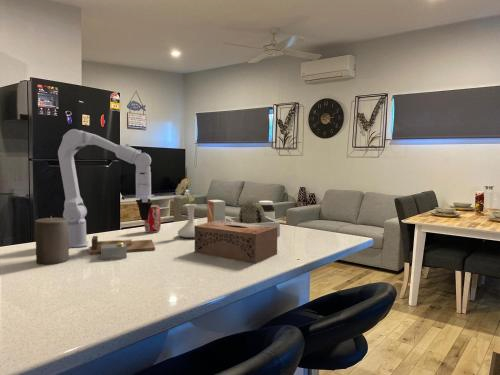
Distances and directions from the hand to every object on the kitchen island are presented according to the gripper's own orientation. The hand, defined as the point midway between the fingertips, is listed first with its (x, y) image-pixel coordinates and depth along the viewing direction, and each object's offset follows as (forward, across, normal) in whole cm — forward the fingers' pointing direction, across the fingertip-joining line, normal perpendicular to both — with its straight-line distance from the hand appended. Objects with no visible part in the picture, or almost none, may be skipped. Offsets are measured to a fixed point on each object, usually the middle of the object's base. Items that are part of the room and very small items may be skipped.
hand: (143, 218), depth 152 cm
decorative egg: (+10, +6, -47) cm, 49 cm away
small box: (+10, +24, -35) cm, 44 cm away
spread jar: (+10, +26, -59) cm, 65 cm away
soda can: (+10, +22, -5) cm, 25 cm away
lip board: (+10, -5, +8) cm, 14 cm away
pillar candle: (+10, -16, +30) cm, 36 cm away
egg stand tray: (+10, +6, -47) cm, 48 cm away
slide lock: (+10, -17, +11) cm, 23 cm away
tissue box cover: (+10, -26, -30) cm, 41 cm away
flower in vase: (+10, +6, -19) cm, 22 cm away
